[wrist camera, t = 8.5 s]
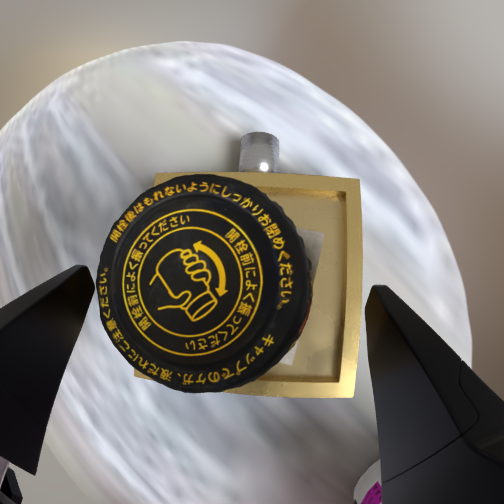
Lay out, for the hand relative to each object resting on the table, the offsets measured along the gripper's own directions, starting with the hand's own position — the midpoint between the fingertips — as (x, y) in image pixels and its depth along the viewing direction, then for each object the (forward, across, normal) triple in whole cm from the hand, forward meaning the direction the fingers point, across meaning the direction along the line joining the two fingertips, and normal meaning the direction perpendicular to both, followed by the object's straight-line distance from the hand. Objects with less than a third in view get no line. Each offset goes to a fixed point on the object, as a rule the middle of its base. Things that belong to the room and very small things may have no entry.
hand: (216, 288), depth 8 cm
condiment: (+8, 0, +6) cm, 10 cm away
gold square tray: (+11, 0, +7) cm, 13 cm away
